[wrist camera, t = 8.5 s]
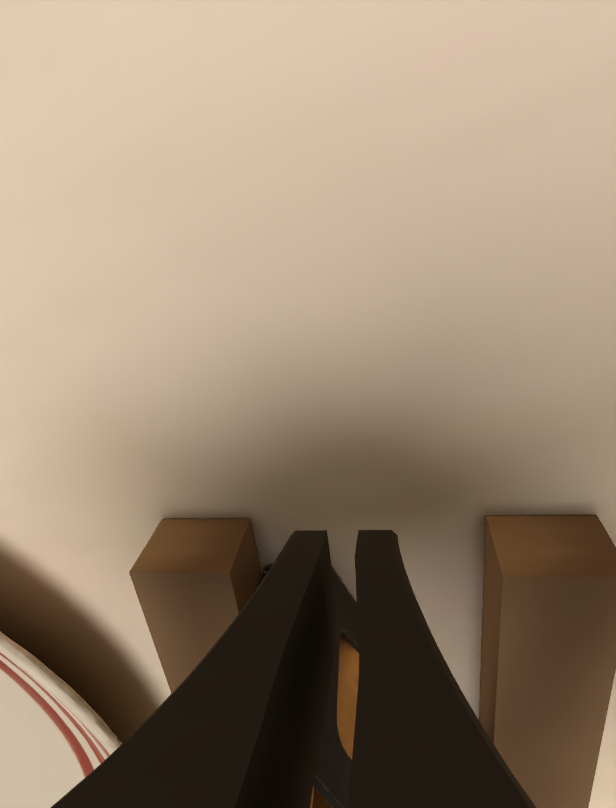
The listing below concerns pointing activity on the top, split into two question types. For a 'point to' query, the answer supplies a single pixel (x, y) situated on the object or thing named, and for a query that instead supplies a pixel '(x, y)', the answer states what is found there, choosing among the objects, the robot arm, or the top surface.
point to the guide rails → (501, 631)
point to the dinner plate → (44, 732)
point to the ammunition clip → (338, 707)
